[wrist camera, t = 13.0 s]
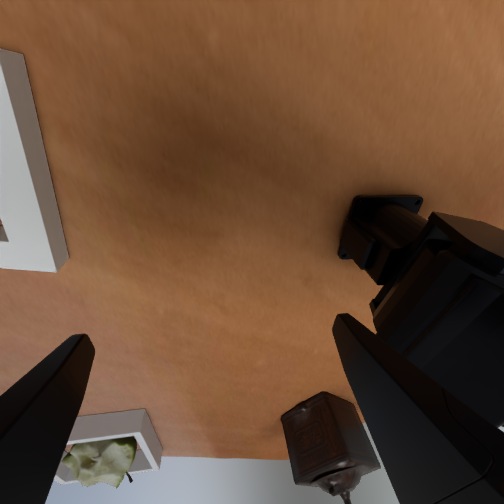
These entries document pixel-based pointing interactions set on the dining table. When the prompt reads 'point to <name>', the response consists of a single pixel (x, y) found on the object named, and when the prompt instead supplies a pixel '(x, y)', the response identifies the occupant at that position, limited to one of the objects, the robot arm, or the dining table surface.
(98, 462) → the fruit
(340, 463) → the coffee grinder
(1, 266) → the rectangular frame
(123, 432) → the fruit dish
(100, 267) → the dining table surface
